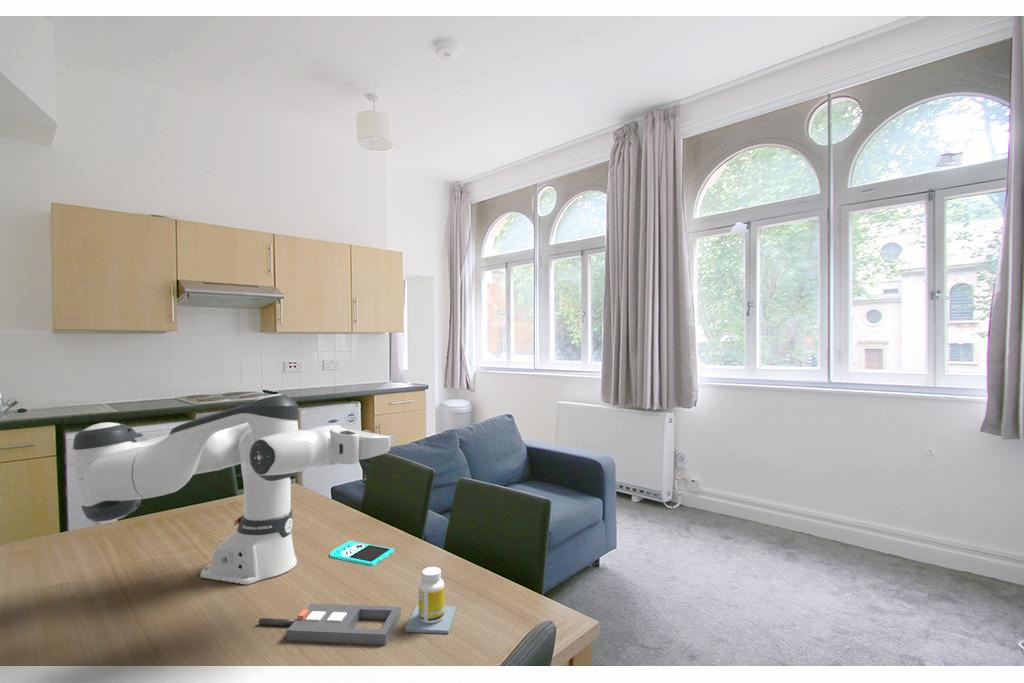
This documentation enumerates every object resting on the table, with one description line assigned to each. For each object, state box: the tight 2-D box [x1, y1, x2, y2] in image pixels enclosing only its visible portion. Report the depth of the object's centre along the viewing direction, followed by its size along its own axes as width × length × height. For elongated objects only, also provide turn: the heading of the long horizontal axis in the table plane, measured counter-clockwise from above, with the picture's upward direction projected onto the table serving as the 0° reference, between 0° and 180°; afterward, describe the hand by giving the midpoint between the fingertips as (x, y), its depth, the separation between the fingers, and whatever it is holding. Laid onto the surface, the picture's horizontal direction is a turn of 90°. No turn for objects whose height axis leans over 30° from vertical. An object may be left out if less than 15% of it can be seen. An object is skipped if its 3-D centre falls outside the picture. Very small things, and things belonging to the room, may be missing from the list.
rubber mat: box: [404, 604, 458, 634], centre depth 103 cm, size 9×9×1 cm
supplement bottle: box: [418, 566, 445, 623], centre depth 103 cm, size 5×5×10 cm
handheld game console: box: [329, 540, 395, 567], centre depth 135 cm, size 10×16×1 cm, turn 69°
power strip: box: [258, 602, 402, 646], centre depth 100 cm, size 28×10×3 cm, turn 86°
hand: (381, 435), depth 120 cm, fingers open, 8 cm apart
